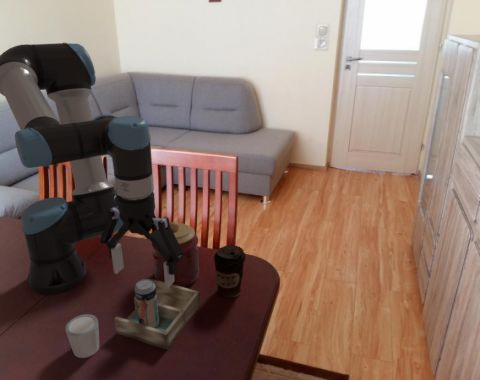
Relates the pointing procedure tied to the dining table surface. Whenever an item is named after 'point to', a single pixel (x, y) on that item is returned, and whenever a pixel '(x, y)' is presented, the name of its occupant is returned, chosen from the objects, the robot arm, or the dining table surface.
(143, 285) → the beer can
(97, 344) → the shot glass
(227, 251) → the coffee cup
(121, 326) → the caddy
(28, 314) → the dining table surface
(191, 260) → the canister
